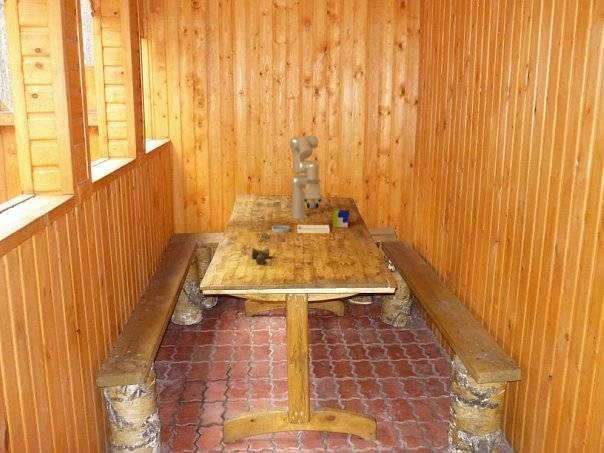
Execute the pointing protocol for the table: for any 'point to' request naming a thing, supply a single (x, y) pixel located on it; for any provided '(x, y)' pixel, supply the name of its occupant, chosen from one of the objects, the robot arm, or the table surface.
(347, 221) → the puzzle toy
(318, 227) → the white rectangular frame
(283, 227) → the bowl
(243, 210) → the table surface
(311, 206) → the ball
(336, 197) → the table surface
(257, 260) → the kendama
